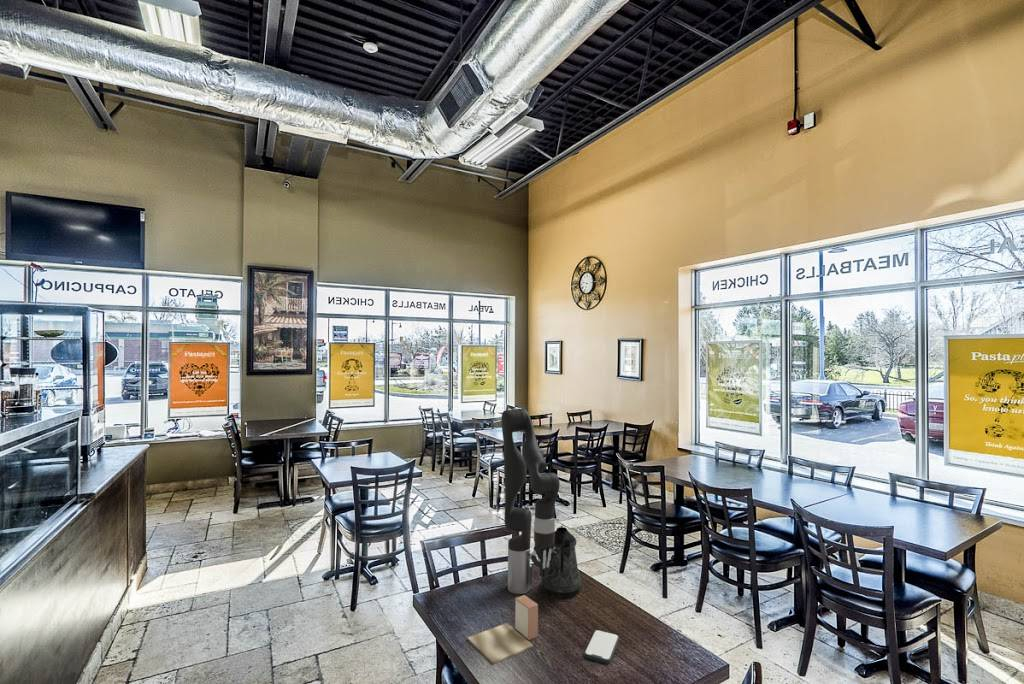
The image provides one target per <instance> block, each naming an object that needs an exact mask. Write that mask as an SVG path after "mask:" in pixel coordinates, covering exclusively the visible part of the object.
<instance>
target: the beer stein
mask: <svg viewBox="0 0 1024 684" xmlns="http://www.w3.org/2000/svg"><path fill="white" fill-rule="evenodd" d="M576 545H577V538H576V537H575V536H574V535H573V534H572V533H571V532H569V530H568V529H567V527H563V526H561V527H560V526H559V527H556V529H555V542H554V547H556V548H558V549H559V553H558V555H557V556H556V558H555V560H554V562H553V564H552V565H551V564H550V565H549V567H548V576H547V578H544V579H543V578H542V577H541V585H542V589H543V591H544V593H546V594H547V595H548V596H552V597H554V598H559V599H567V598H572V597H576V596H577V595H579V594H580V593H581V587H582V578H581V575H580V572H579V568H578V567H579V566H578V562H577V554H576ZM551 559H552V558H551Z"/></svg>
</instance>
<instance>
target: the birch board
mask: <svg viewBox="0 0 1024 684" xmlns="http://www.w3.org/2000/svg"><path fill="white" fill-rule="evenodd" d="M467 640H468V641H469V642H470V643H471V644H472V645H473V646H474V647H475V648H476V649H477V650H478V651H479V652H480V653H481V654H482V655H483V656H484V657H485V658H486V659H487V660H488V661H489V662H490V663H491V664H492V665H494V664H497V663H500V662H501V661H503V660H507V659H508V658H510V657H514V656H515V655H518V654H520V653H523V652H525V651H527V650H529V649H531V648H534V645H533V643H532V642H530V640H528V639H526V638H525V637H524V636H523V635H522V634H520V633H519V632H518V631H517V630H516V629H515V628H513V627H512V626H511V625H509V623H507V622H506V623H503V624H500V625H498V626H495V627H493V628H489V629H487V630H484V631H482V632H479V633H476V634H474V635H471V636H468V637H467Z"/></svg>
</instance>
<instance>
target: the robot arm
mask: <svg viewBox="0 0 1024 684" xmlns="http://www.w3.org/2000/svg"><path fill="white" fill-rule="evenodd" d="M501 430H502V440H503V467H504V468H503V470H504V473H503V474H504V491H505V493H504V494H505V495H504V528H505V529H507V530H508V531H513V532H521V534H519V535H515V536H512V537H511V538H509V539H508V542H507V546H508V547H507V590H508V591H509V592H510V593H511V594H515V595H522V594H523V595H525V594H526V593H529V591H530V590H531V589H533V566H532V565H531V562H532V563H533V564H534V565H535V567H538V568H539V576H540V577H541V579H542V578H543V579H544V578H547V576H548V567H549V565H550V564H551V565H552V564H553V562H554V560H555V558H556V556H557V555H558V553H559V549H558V548H556V547H554V542H555V531H556V521H555V506H556V505H555V504H556V501H557V497H558V494H559V490H560V486H561V485H560V484H561V483H560V478H559V476H558V475H557V474H556V473H555V472H546V473H545V472H544V471H545V470H546V468H547V462H546V459H545V458H544V456H543V453H542V452H541V449H540V447H539V444H538V440H537V436H536V433H535V429H534V426H533V422H532V418H531V415H530V414H529V412H528V411H527V409H525V408H514V409H507V410H504V411H502V414H501ZM518 432H524V435H525V440H524V444H523V447H522V453H521V451H520V450H519V448H517V445H516V444H515V441H514V438H513V433H518ZM527 470H528V471H527ZM527 472H528V473H529V484H530V489H531V490H532V492H533V493H534V494H537V495H543V494H544V496H543V497H541V498H538V499H537V500H536V501H535V503H534V521H533V543H534V547H533V551H532V552H531V539H532V538H531V537H532V536H531V534H532V533H531V532H532V518H533V517H532V512H531V509H529V508H525V507H524V508H523V507H515V502H516V501H515V500H516V498H517V495H518V494H519V493H520V490H521V489H522V488H523V486H524V484H525V482H526V480H527ZM543 472H544V473H543ZM551 558H552V559H551Z"/></svg>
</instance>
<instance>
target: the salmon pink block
mask: <svg viewBox="0 0 1024 684" xmlns="http://www.w3.org/2000/svg"><path fill="white" fill-rule="evenodd" d="M514 600H515V601H514V602H515V604H514V605H515V612H514V614H515V615H514V616H515V617H514V619H515V621H514V630H516V631H517V632H518V633H519V634H520V635H522V636H523V637H524V638H525V639H526V640H528V641H530V640H533V639H535V638H537V637H539V635H538V634H539V633H538V632H539V604H538V603H537V602H535V601H534V600H532V599H531V598H530V597H528V596H527V595H525V594H523V595H520V596H517V597H515V599H514Z"/></svg>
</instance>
